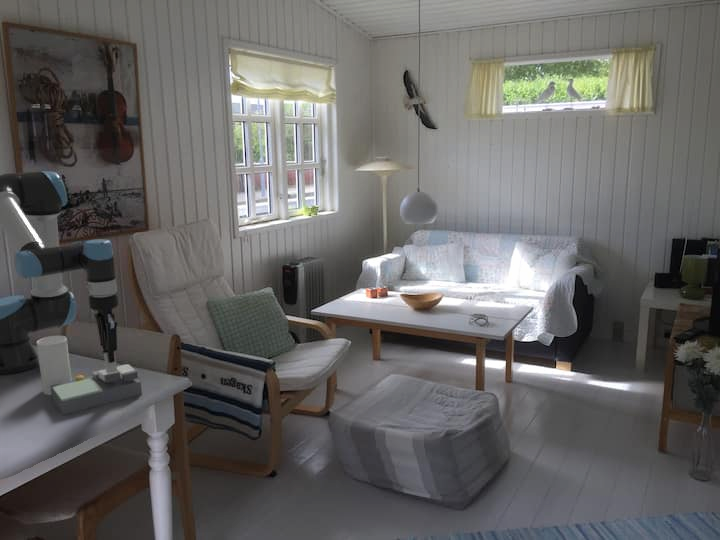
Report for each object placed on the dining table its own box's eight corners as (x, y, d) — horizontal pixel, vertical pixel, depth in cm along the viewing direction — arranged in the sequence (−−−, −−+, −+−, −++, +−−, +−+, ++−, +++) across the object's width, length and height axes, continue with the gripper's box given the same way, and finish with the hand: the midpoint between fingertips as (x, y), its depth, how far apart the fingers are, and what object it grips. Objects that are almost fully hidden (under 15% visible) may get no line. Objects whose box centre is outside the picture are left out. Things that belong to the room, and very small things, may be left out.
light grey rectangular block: (97, 371, 190) (105, 376, 184) (111, 367, 192) (119, 372, 186) (98, 377, 190) (106, 382, 184) (112, 374, 193) (120, 379, 186)
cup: (61, 395, 190) (54, 345, 186) (37, 393, 191) (30, 343, 188) (78, 384, 198) (72, 336, 194) (55, 383, 199) (48, 334, 196)
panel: (52, 398, 188) (49, 376, 186) (126, 379, 201) (124, 359, 200) (63, 414, 177) (60, 391, 176) (141, 394, 190) (139, 372, 189)
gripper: (83, 291, 183) (91, 368, 188) (96, 301, 173) (104, 381, 178) (109, 287, 187) (117, 362, 193) (123, 296, 177) (131, 375, 183)
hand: (111, 371), depth 185 cm, fingers closed
